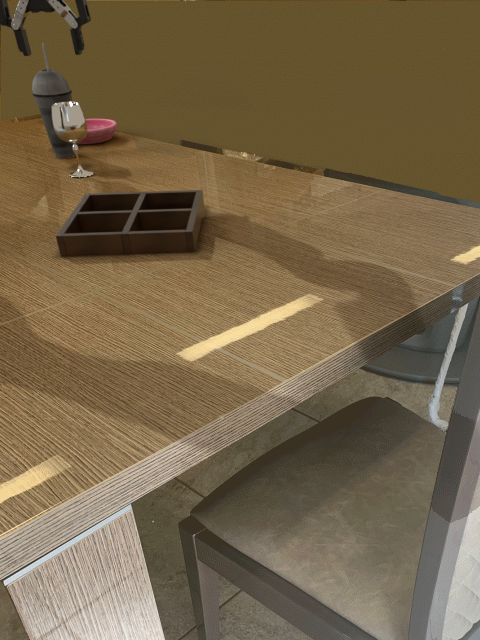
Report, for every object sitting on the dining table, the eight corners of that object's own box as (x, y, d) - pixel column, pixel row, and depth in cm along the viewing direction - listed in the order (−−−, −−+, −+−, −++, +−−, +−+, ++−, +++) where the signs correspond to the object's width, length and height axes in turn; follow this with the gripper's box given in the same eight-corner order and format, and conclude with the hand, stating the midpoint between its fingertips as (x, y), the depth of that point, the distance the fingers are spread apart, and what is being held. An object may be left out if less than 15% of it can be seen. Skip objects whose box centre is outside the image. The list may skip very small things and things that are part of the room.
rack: (63, 265, 87) (55, 236, 84) (91, 219, 101) (85, 193, 98) (196, 260, 88) (192, 231, 85) (205, 216, 102) (202, 189, 99)
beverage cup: (75, 148, 135) (50, 38, 123) (91, 155, 131) (67, 42, 119) (42, 155, 131) (13, 42, 119) (57, 162, 127) (29, 46, 115)
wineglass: (75, 169, 123) (59, 100, 116) (102, 170, 122) (88, 101, 115) (59, 178, 119) (41, 107, 111) (88, 179, 118) (72, 108, 110)
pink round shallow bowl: (54, 137, 143) (50, 122, 141) (108, 130, 148) (106, 115, 147) (70, 149, 135) (66, 133, 133) (127, 141, 140) (124, 125, 138)
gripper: (-31, -65, 95) (3, 59, 105) (66, -67, 96) (91, 57, 106) (-14, -65, 101) (17, 52, 111) (77, -67, 102) (100, 50, 112)
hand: (53, 54), depth 108 cm, fingers open, 8 cm apart
